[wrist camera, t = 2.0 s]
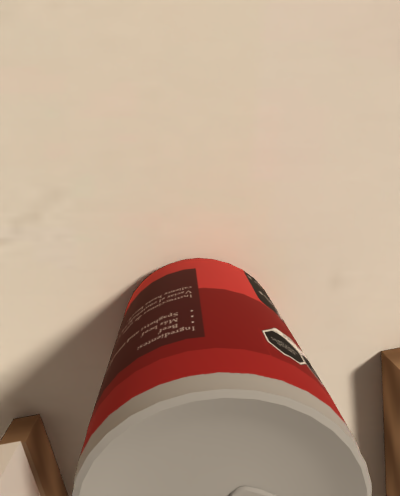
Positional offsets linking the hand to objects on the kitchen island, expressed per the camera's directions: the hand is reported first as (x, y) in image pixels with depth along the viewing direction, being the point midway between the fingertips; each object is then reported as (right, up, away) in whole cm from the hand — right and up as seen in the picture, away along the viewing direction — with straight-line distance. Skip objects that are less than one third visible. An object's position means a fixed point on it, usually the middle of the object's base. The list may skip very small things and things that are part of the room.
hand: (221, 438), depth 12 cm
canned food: (-1, +3, +8) cm, 8 cm away
